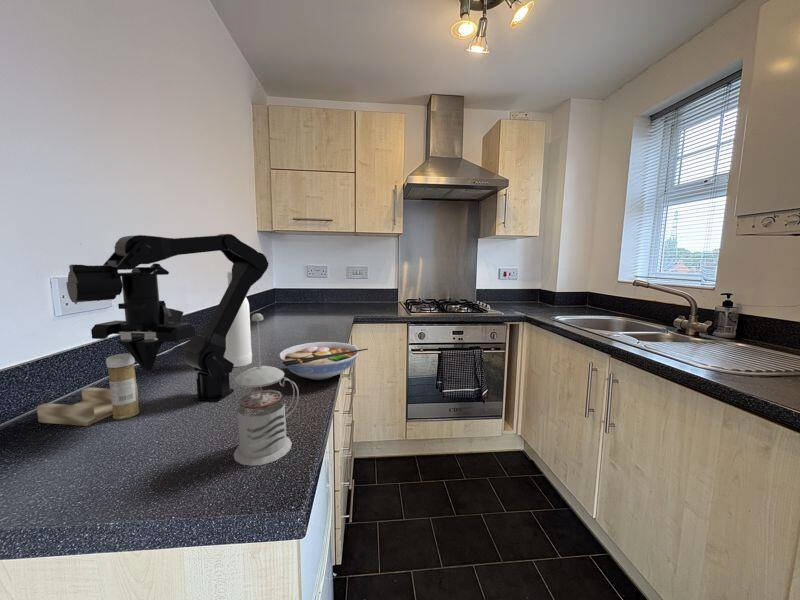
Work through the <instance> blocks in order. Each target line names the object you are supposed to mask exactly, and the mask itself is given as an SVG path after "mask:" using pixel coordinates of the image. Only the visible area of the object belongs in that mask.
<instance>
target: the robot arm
mask: <svg viewBox="0 0 800 600" xmlns="http://www.w3.org/2000/svg"><path fill="white" fill-rule="evenodd" d="M218 251H220V252H221V253H222V254H223V255H224V257H226V260H228V261H229V262H231V263H232V266H231V272H232V280H231V282H230V284H229V286H227V288H226V291H225V292H224V294H223V296H222V298H221V299H220V302H219V303H218V305H217V308H215V311H214V314H212V317H211V319H210V320H209V323H208V324H207V327H206V328H205V329H204V331H202V332H201V333H200V334H196V327H195V326H194V324H192V323H191V322H182V320H183V316H184V311H181V310H178V309H173V308H168V307H167V306H166V302H165V300H160V295H159V281H158V276H163V275H169V274H170V272H169V270H167V269H166V268H164V267H163V266H161V264H160V263H157V262H162V261H164V260H167V259H170V258H172V257H176V256H181V255H191V254H198V253H199V254H200V253H201V254H202V253H210V252H218ZM150 264H152V265H150ZM140 265H150V266H144V267H143V266H141V267H139V266H140ZM268 267H269V261H268V259H267V256H266V255H265V254H264V253H262V252H259V251H258V250H256V249H255V248H253V247H252V246H250V245H248V244H247V243H245V242H244V241H241V240H240V239H239V238H238V237H236V236H235V235H234V234H232V233H221V234H217V235H205V236H193V237H192V236H189V237H177V238H174V237H163V236H154V235H147V234H146V235H144V234H139V235H138V234H135V235H126V236H122V237H120V238H119V239H118V240H117V241H116V242H115V244H114V251H113V253H112V254H111V255H110V256H109V258H107V260H106V261H105V262H104V263H103V265H86V264H85V265H84V264H70V265H68V268H69V272H68V275H67V281H66V284H65V285H66V289H67V294H68V297H69V299H70V301H71V302H72V303H74V304H75V303H85V302H86V303H87V302H97V301H111V300H115V299H116V297H117V296H120V295H121V294H122V297H123V302H122V303H121V302H120V303H118V304H117V305H118V310H124V316H125V317H124V318H125V320H112V321H107V322H101V323H97V324H94V326H93V327H92V328H91V329H90V331H91V338H92V339H93V340H96V339H97V340H106V339H107V338H109V336H110V335H120V340H117V343H118V344H119V345H121V346H122V347H123V348H125V350H126V351H127V352H129V354H131V355H132V356H133V357H134V359H135V362H137V364H138V365H139V366H140V367H141V369H142V370H143V371H144V372H149V371H152V370H153V368H154V365H155V363H156V359H157V357H158V356H157V355H158V353H159V350H160V348H161V346H162V345H163V344H164V343H165V342H167V343H169V342H170V343H174V342H180V341H182V340H186V339H188V338H189V340H188V341H189V342H188V343H187V344H186V346H185V347H184V348H183V350H184V351H185V352H184V355H183V357H184V360H185V363H186V364H187V365H189V366H191V367H192V369H193V371H194V372H197V376H196V377H197V378H196V391H197V392H196V394H197V395H196V396H195V397H193V400H195V401H208V402H209V401H210V402H219V401H221V400H223V399H224V398H225V397H227V396H228V395H231V394H232V393H234V391H235V389H234V388H231V384H230V373H233V369H234V367H233V366H234V364H233V363H232V362H230V361H229V360H227V359H226V358H225V351H226V336H227V333H228V331H229V329H230V327H231V325H232V323H233V321H234V319H235V317H236V315H237V313H238V311H239V309H240V307H241V305H242V303H243V301H244V299H245V297H246V298H247V295H248V293H249V291H250V288H251V287H252V286H253V285H255V283H257V282H258V281H259V280H260V279H261V278H262V277H263V276H264V274H265V273H266V272H267V270H268ZM122 270H123V271H124V270H125V271H127V270H128V271H130V272H119V271H122Z"/></svg>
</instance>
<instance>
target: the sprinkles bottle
mask: <svg viewBox="0 0 800 600" xmlns="http://www.w3.org/2000/svg"><path fill="white" fill-rule="evenodd" d="M105 362H106V367H107V371H108V377H109V378H108V379H109V380H108V382H109V389H110V392H111V402H112V407H113V414H112V418H113V419H114V420H118V421H119V420H126V419H127V420H128V419H130V418H133V417H135V416H137V415H138V414H139V413H140V408H139V407H140V405H139V393H138V385H137V379H136V369H135V363H136V360H135V359H134V357H133V356H132V355H131V354H130V353H120V354H113V355H110V356H108V357H106V359H105Z"/></svg>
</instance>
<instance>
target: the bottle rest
mask: <svg viewBox="0 0 800 600" xmlns="http://www.w3.org/2000/svg"><path fill="white" fill-rule="evenodd" d="M81 399H82V400H81V401H79V402H76V403H75V404H64V403H63V404H62V403H47V402H45V403H42V404H38V405H37V406H36V412H37V420H38V423H43V424H56V425H57V424H59V425H69V426H83V427H88V426H91V425H93V424H95V423H97V422H99V421H102V420H103V419H106V418H108V417H110V416H113V407H112V402H111V392H110V388H103V387H86V388H82V389H81Z"/></svg>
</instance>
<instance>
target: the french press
mask: <svg viewBox="0 0 800 600" xmlns="http://www.w3.org/2000/svg"><path fill="white" fill-rule="evenodd" d="M263 320H264V316H263V314H261V313H259V312H258V313H254V314H252V316H251V321H252V322H256V324H257V343H258V360H259V361H258V364H259V366H254V367H251V368H249V369H246V370H245V371H243V372H241V373H240V374H238V375H237V376H236V377H235V378H234V381H235V384H236V385H237V386H239V387H242V388H250V389H251V388H260V390H256V391H253V392H250V393H247V394H245V395H244V396H241V398H240V399H239V401H238V403H239V406H238V408H237V425H238V440H239V442H238V443H239V445H238V446H237V448H236V449H235V451H234V453H233V459H234V461H235V462H237V463H238V464H240V465H244V466H251V467H253V466H260V465H266V464H269V463H273V462H275V461H277V460H279V459H281V458H282V457H284V456H286V455H287V454H288V452H290V450H291V449H292V444H293V442H292V441H291V439H290V437H288V436H287V421H286V419H287V418H288V417H289V416H290V415H291V414H292V413H293V412H294V411H295V409H296V408H297V405H298V402H299V397H300V395H299V394H300V393H299V387H298V386H297V384H296V383H295V381H293V380H291V379H289V378H288V377H286V376H285V372H284V371H283V370H282V369H279V368H277V367H275V366H269V365H268V366H267V365H261V364H262V363H261V348H260V347H261V346H260V345H261V344H260V322H261V321H263ZM282 380H283V381H282ZM281 381H282V382H281ZM286 381H288V382H289V383H290V385H291V387H292V390H293V391H292V393H293V394H292V400H291V402H290V405H288V407H287V408H286V405H285V401H284V400H283V401H282V398H283V394H282V392H281V391H277V390H275V389H273V390H272V389H268V390H266V389H264V390H263V389H262V388H263V387H267V386H272V385H274V384H277V383H279V385H280V387H285V382H286ZM295 389H296V390H295ZM295 391H296V392H295ZM295 393H296V395H295ZM295 396H296V401H295V406H294V407H292V410H291V411H290V412H288V413H287V415H286V412H287V411H288V410H289V409H290V407H291V406H292V405H293V402H294V398H295ZM250 409H251V410H250ZM249 410H250V411H249ZM260 410H261V411H262V410H265V411H269V412H271V413H269V412H259V411H260ZM248 411H249V412H248ZM247 412H248V413H247ZM256 412H258V413H256ZM246 413H247V414H246ZM253 413H255V414H253ZM245 414H246V415H245ZM267 424H268V425H267ZM250 430H251V431H250Z"/></svg>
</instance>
